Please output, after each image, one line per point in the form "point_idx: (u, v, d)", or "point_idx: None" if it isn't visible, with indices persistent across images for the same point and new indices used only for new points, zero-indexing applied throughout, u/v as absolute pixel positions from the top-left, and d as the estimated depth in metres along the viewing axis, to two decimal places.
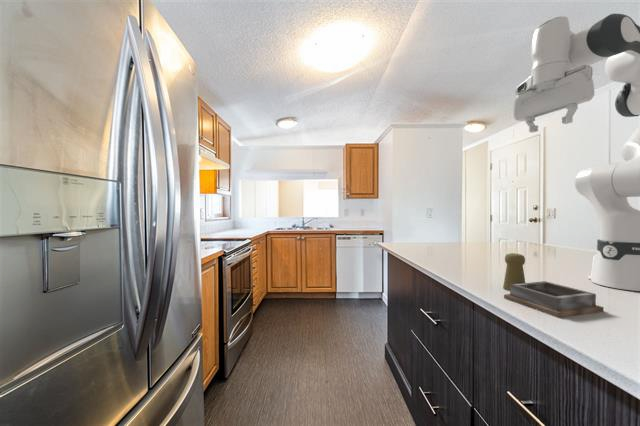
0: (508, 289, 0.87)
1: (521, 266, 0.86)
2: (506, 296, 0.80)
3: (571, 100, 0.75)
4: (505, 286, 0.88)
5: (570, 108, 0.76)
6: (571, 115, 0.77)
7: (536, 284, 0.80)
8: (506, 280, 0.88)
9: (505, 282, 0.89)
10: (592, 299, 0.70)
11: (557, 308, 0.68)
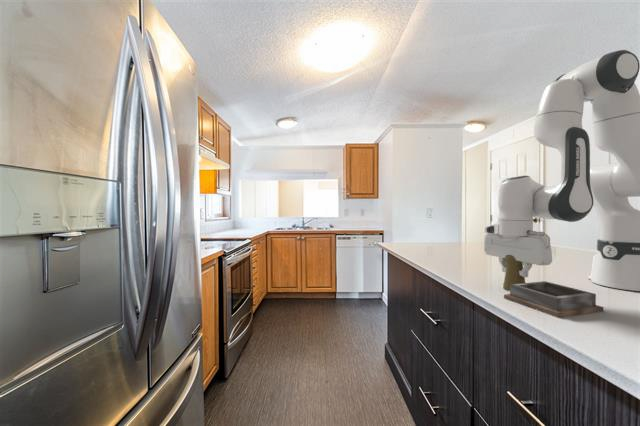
0: (508, 289, 0.87)
1: (521, 266, 0.86)
2: (506, 296, 0.80)
3: (532, 262, 0.81)
4: (505, 286, 0.88)
5: (525, 266, 0.84)
6: (527, 270, 0.85)
7: (536, 284, 0.80)
8: (506, 280, 0.88)
9: (505, 282, 0.89)
10: (592, 299, 0.70)
11: (557, 308, 0.68)
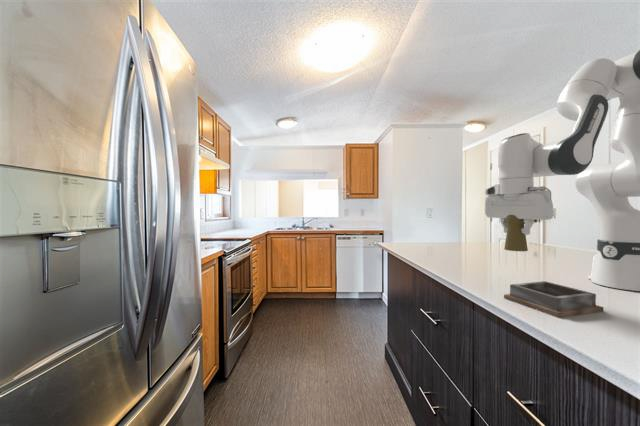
0: (509, 249, 0.87)
1: (522, 225, 0.86)
2: (506, 296, 0.80)
3: (533, 217, 0.81)
4: (506, 246, 0.88)
5: (527, 223, 0.83)
6: (529, 228, 0.84)
7: (536, 284, 0.80)
8: (507, 240, 0.88)
9: (506, 242, 0.88)
10: (592, 299, 0.70)
11: (557, 308, 0.68)
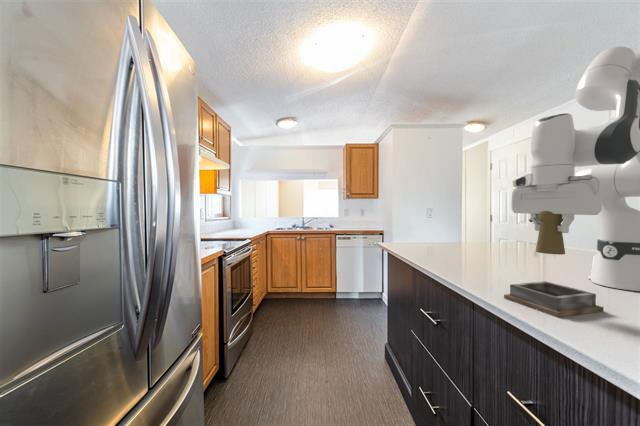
0: (543, 251, 0.73)
1: (559, 224, 0.73)
2: (506, 296, 0.80)
3: (575, 212, 0.67)
4: (539, 248, 0.75)
5: (566, 219, 0.70)
6: (567, 225, 0.71)
7: (536, 284, 0.80)
8: (540, 241, 0.74)
9: (539, 244, 0.75)
10: (592, 299, 0.70)
11: (557, 308, 0.68)
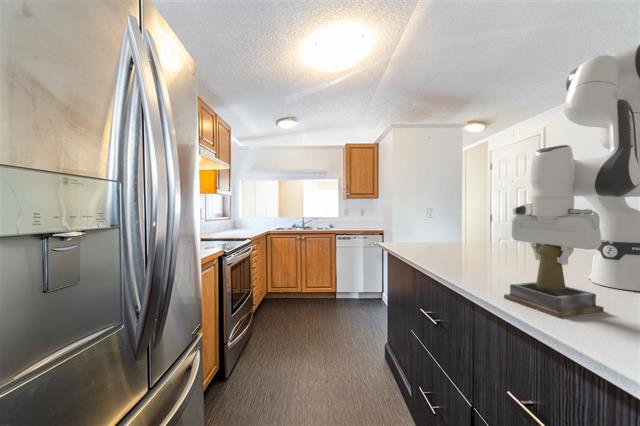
0: (543, 286, 0.74)
1: None
2: (506, 296, 0.80)
3: (575, 246, 0.68)
4: (539, 282, 0.75)
5: (565, 251, 0.70)
6: (567, 257, 0.71)
7: None
8: (540, 275, 0.75)
9: (539, 278, 0.75)
10: (592, 299, 0.70)
11: (557, 308, 0.68)
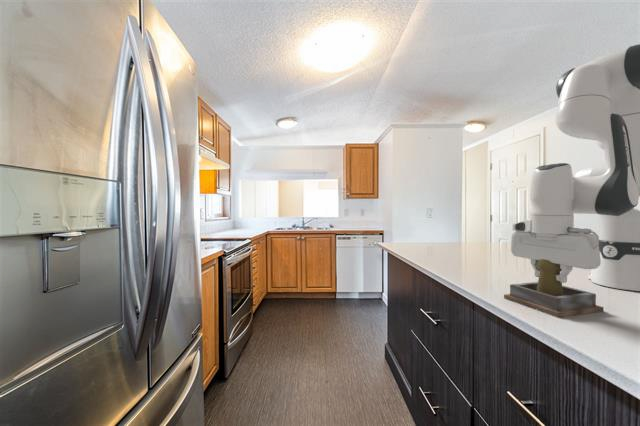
0: None
1: (558, 273, 0.73)
2: (506, 296, 0.80)
3: (574, 265, 0.68)
4: None
5: (564, 270, 0.71)
6: (566, 275, 0.71)
7: (536, 284, 0.80)
8: (540, 289, 0.75)
9: None
10: (592, 299, 0.70)
11: (557, 308, 0.68)
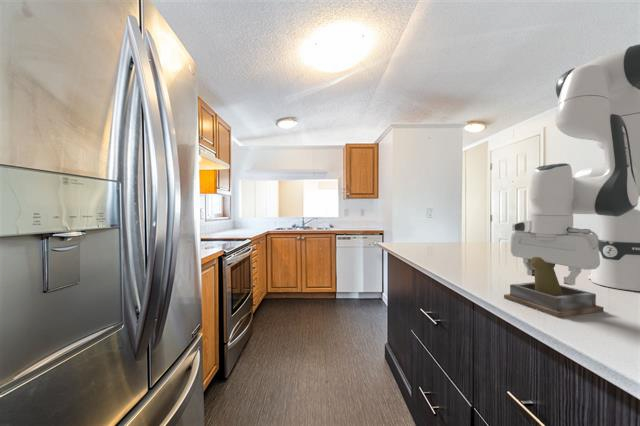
0: None
1: (552, 269, 0.74)
2: (506, 296, 0.80)
3: (574, 265, 0.68)
4: None
5: (573, 272, 0.69)
6: (574, 277, 0.69)
7: None
8: (537, 287, 0.75)
9: (537, 290, 0.76)
10: (592, 299, 0.70)
11: (557, 308, 0.68)
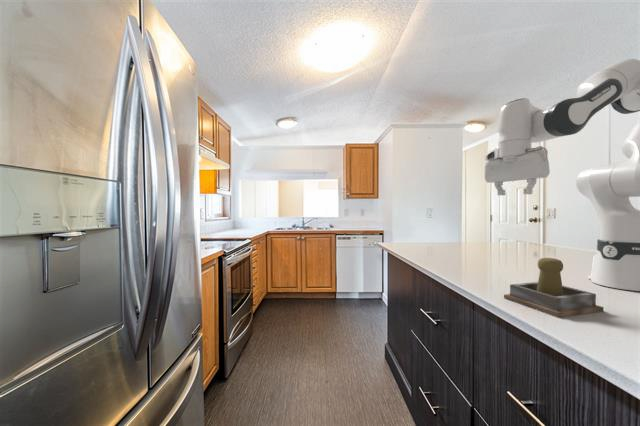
0: None
1: (558, 273, 0.73)
2: (506, 296, 0.80)
3: (530, 176, 0.85)
4: None
5: (530, 182, 0.86)
6: (531, 187, 0.87)
7: (536, 284, 0.80)
8: (540, 289, 0.75)
9: None
10: (592, 299, 0.70)
11: (557, 308, 0.68)
